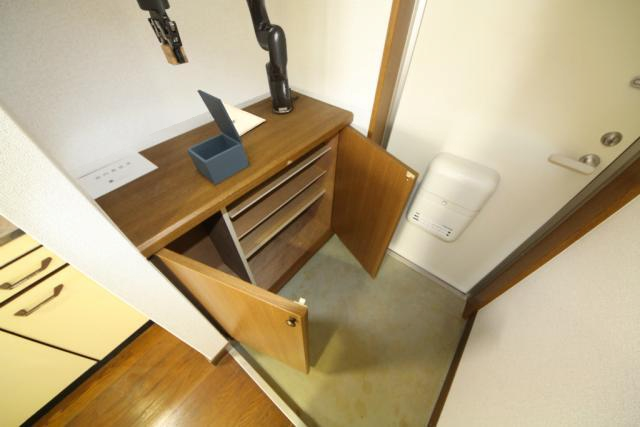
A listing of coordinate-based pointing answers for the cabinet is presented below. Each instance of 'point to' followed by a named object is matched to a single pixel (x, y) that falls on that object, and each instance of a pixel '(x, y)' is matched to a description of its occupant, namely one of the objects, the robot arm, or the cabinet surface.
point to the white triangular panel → (242, 119)
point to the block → (172, 54)
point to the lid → (220, 115)
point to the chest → (218, 157)
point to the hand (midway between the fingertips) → (178, 61)
